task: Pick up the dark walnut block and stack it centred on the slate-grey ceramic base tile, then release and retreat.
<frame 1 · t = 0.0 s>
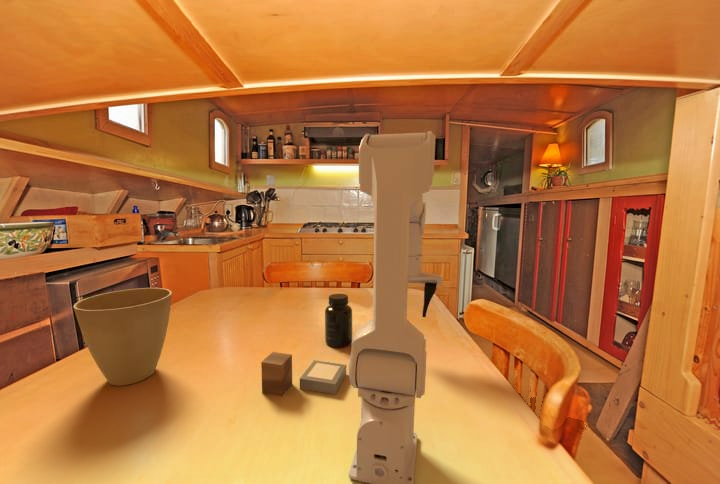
hand: (406, 314, 68), 10 cm above the table, tool pointing down, fingers open, 7 cm apart
plant pot: (132, 376, 60), on the table
base tile: (324, 381, 59), on the table
walnut block: (277, 388, 56), on the table
supplement bottle: (338, 343, 76), on the table
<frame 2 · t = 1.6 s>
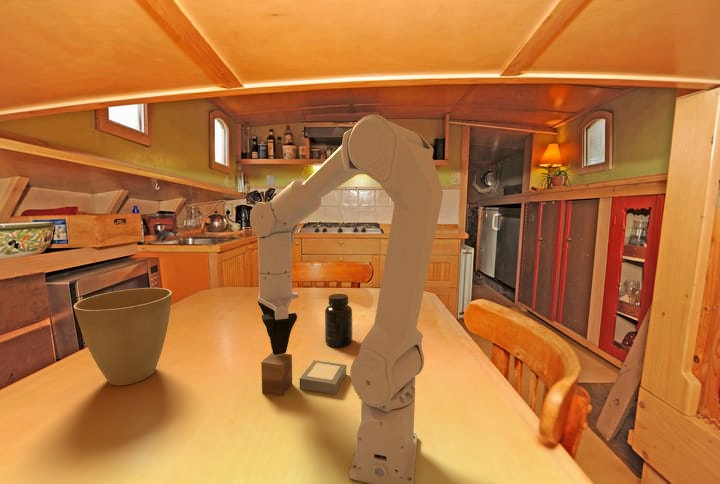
hand: (276, 343, 55), 9 cm above the table, tool pointing down, fingers open, 7 cm apart
nothing on the table moved.
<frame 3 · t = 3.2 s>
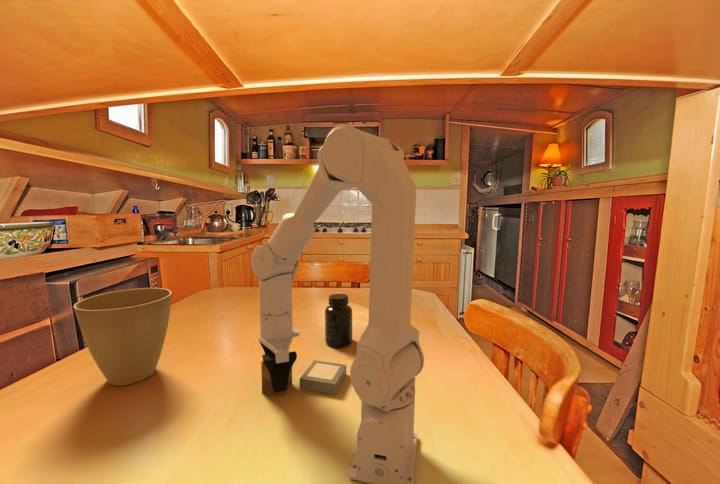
hand: (277, 381, 56), 1 cm above the table, tool pointing down, fingers closed on walnut block, 6 cm apart
walnut block: (277, 388, 56), on the table, touching gripper
everything else where it was.
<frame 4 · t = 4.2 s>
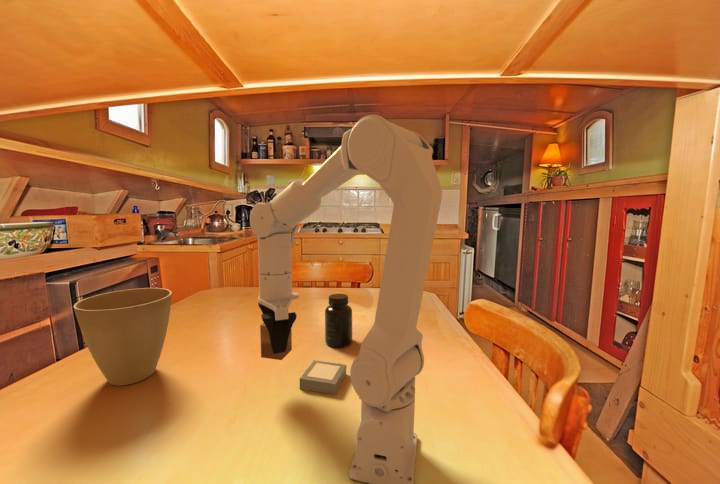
hand: (276, 344, 55), 9 cm above the table, tool pointing down, fingers closed on walnut block, 6 cm apart
walnut block: (276, 353, 56), point 7 cm above the table, touching gripper
everything else where it was.
when the fingers open (6 cm above the table, at t = 5.3 s): walnut block stays where it is, resting on base tile.
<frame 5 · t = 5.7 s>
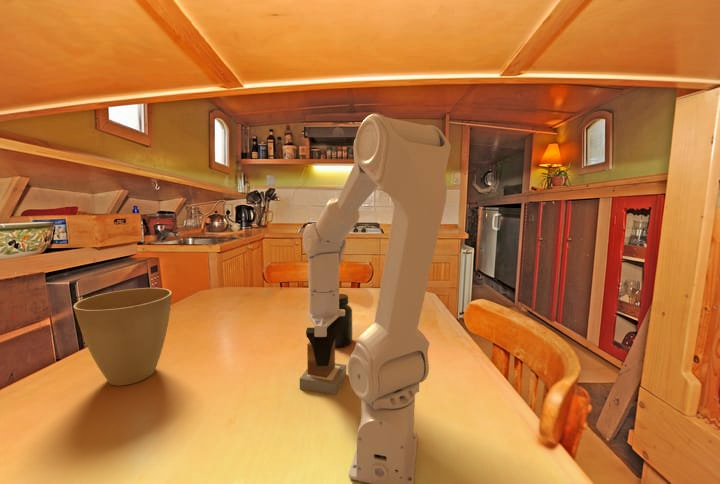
hand: (323, 357, 58), 5 cm above the table, tool pointing down, fingers open, 5 cm apart
walnut block: (321, 370, 59), point 2 cm above the table, touching base tile, gripper
everything else where it was.
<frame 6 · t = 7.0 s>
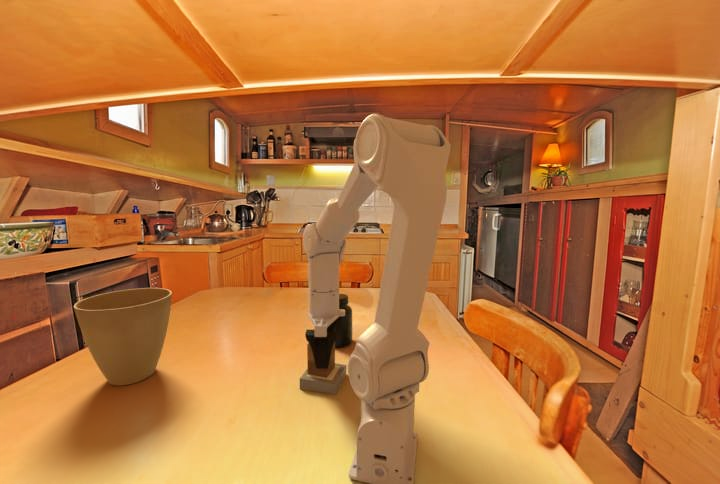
hand: (324, 357, 58), 5 cm above the table, tool pointing down, fingers open, 7 cm apart
walnut block: (321, 370, 59), point 2 cm above the table, touching base tile
everything else where it was.
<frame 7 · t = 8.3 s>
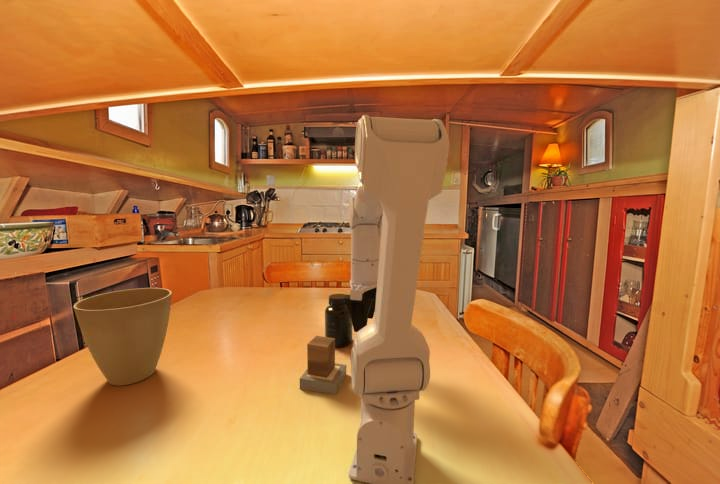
hand: (364, 324, 62), 10 cm above the table, tool pointing down, fingers open, 7 cm apart
nothing on the table moved.
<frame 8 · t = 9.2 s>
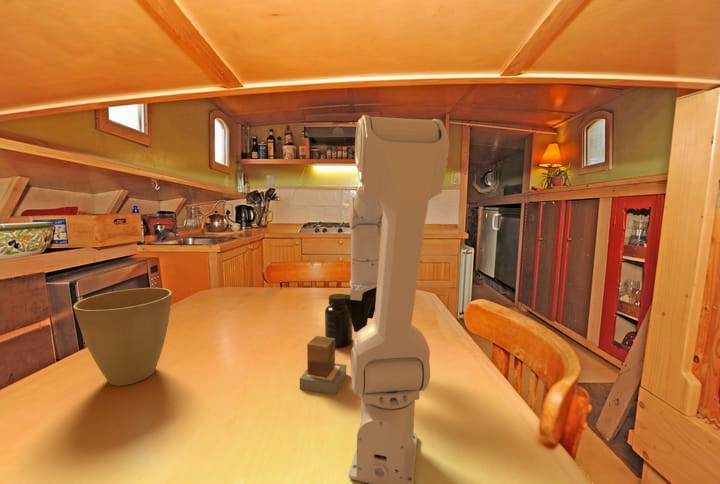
hand: (364, 324, 62), 10 cm above the table, tool pointing down, fingers open, 7 cm apart
nothing on the table moved.
at the end: walnut block 0.5 cm off-centre on the base tile, point 2.1 cm above the base tile's base; walnut block tilted 0°; the gripper is holding nothing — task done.
